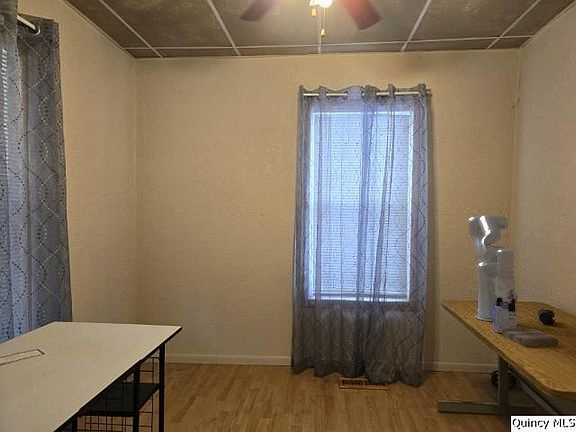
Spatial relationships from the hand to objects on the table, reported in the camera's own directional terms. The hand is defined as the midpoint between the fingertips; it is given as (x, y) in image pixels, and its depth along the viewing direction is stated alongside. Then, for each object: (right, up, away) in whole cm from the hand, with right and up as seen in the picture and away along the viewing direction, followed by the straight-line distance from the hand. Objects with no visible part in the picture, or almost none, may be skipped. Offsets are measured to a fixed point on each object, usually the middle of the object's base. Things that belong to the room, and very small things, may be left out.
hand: (505, 309), depth 206 cm
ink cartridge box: (0, -12, +1) cm, 12 cm away
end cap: (+32, -12, +19) cm, 39 cm away
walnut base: (+4, -11, -13) cm, 18 cm away
